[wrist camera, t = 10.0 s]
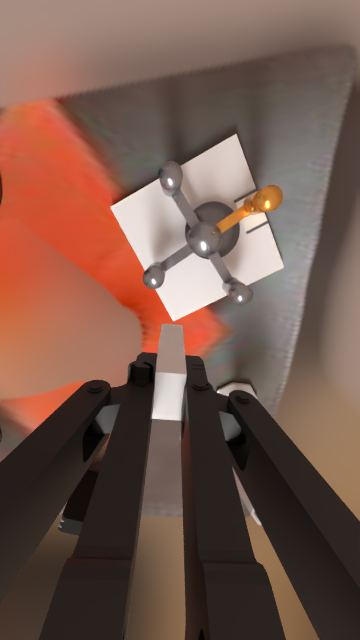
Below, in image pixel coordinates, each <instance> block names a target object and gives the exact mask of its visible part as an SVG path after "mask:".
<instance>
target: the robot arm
mask: <svg viewBox="0 0 360 640" xmlns="http://www.w3.org/2000/svg"><path fill="white" fill-rule="evenodd" d="M1 195H2V190H1V181H0V203H1ZM181 415H182V421H181ZM152 419H166V420H180V421H181V428H180V436H179V440H181V463H182V499H183V535H184V571H185V607H186V626H185V640H286V638H285V635H284V631H283V627H282V624H281V620H280V617H279V613H278V609H277V605H276V602H275V598H274V594H273V591H272V587H271V584H270V581H269V578H268V575H267V572H266V570H265V569H264V567H263V565H262V564H260V563H258V562H257V561H256V559H255V557H254V554H253V550H252V546H251V542H250V537H249V534H248V529H247V525H246V521H245V517H244V513H243V509H242V505H241V501H240V497H239V493H238V488H237V484H236V480H235V476H234V472H233V469H234V471H235V473H236V475H237V477H238V479H239V481H240V483H241V485H242V487H243V489H244V491H245V493H246V495H247V497H248V499H249V501H250V502H251V504H252V506H253V508H254V510H255V512H256V514H257V516H258V518H259V520H260V522H261V524H262V526H263V528H264V530H265V532H266V534H267V536H268V538H269V540H270V542H271V544H272V546H273V548H274V550H275V552H276V554H277V556H278V558H279V560H280V562H281V564H282V566H283V567H284V570H285V572H286V574H287V576H288V578H289V580H290V582H291V584H292V586H293V588H294V590H295V592H296V594H297V596H298V598H299V600H300V602H301V603H302V606H303V608H304V610H305V611H306V613H307V615H308V617H309V619H310V621H311V623H312V625H313V627H314V629H315V631H316V633H317V635H318V637H319V639H320V640H360V521H359V520H358V519H357V518H356V517H355V515H354V514H353V513H352V512H351V511H350V509H349V508H348V507H347V506H346V505H345V503H344V502H343V501H342V500H341V499H340V498H339V496H338V495H337V494H336V493H335V492H334V490H333V489H332V488H331V487H330V486H329V484H328V483H327V482H326V481H325V480H324V478H323V477H322V476H321V475H320V474H319V473H318V471H317V470H316V469H315V468H314V467H313V465H312V464H311V463H310V462H309V461H308V460H307V458H306V457H305V456H304V455H303V454H302V452H301V451H300V450H299V449H298V448H297V446H296V445H295V444H294V443H293V442H292V440H291V439H290V438H289V437H288V436H287V435H286V433H285V432H284V431H283V430H282V429H281V427H280V426H279V425H278V424H277V423H276V421H275V420H274V419H273V418H272V417H271V416H270V414H269V413H268V412H267V411H266V410H265V408H264V407H263V406H262V405H261V404H260V402H259V401H258V400H257V399H256V398H255V397H254V396H253V395H252V394H250V393H248V392H246V391H243V390H233V391H231V392H230V393H229V396H226V395H223V394H220V393H217V392H215V391H214V390H213V387H212V385H211V384H210V383H209V382H208V380H207V376H206V371H205V367H204V362H203V360H202V359H201V358H200V357H199V356H188V355H185V348H184V337H183V325H174V324H163V323H162V326H161V334H160V341H159V348H158V354H157V353H145V352H142V353H141V354H139V355H138V356H137V360H136V361H134V362H132V363H130V364H129V366H128V381H127V384H125V385H122V386H119V387H113V388H111V387H110V384H109V383H108V382H106V381H103V380H92V381H89V382H86V383H85V384H83V385H82V386H81V387H80V388H79V389H78V390H77V391H76V392H74V393H73V394H72V395H71V396H70V397H69V398H68V399H67V400H66V401H65V402H64V403H63V404H62V405H61V406H60V407H59V408H58V409H56V410H55V411H54V412H53V413H52V414H51V415H50V416H49V417H48V418H47V419H46V420H45V421H44V422H43V423H42V424H41V425H40V426H38V427H37V428H36V429H35V430H34V431H33V432H32V433H31V434H30V435H29V436H28V437H27V438H26V439H25V440H24V441H23V442H22V443H20V444H19V445H18V446H17V447H16V448H15V449H14V450H13V451H12V452H11V453H10V454H9V455H8V456H7V457H6V458H5V459H4V460H2V461H1V462H0V604H1V603H2V601H3V600H4V598H5V597H6V595H7V594H8V592H9V590H10V589H11V587H12V586H13V584H14V583H15V581H16V580H17V578H18V577H19V575H20V573H21V572H22V570H23V569H24V567H25V566H26V564H27V562H28V561H29V560H30V558H31V556H32V555H33V553H34V552H35V550H36V549H37V547H38V546H39V544H40V542H41V541H42V539H43V538H44V536H45V535H46V533H47V532H48V530H49V529H50V527H51V525H52V524H53V522H54V520H55V519H56V518H57V516H58V515H59V513H60V512H61V510H62V508H63V507H64V505H65V504H66V502H67V501H68V499H69V498H70V496H71V495H72V493H73V491H74V490H75V488H76V487H77V485H78V484H79V482H80V481H81V479H82V477H83V476H84V474H85V473H86V471H87V470H88V468H89V467H90V465H91V464H92V462H93V460H94V459H95V457H96V456H97V454H98V453H99V451H100V450H101V448H102V447H103V445H104V443H105V442H106V440H107V439H108V437H109V435H110V433H111V435H110V439H109V442H108V445H107V448H106V451H105V455H104V458H103V461H102V464H101V467H100V471H99V474H98V477H97V480H96V483H95V487H94V490H93V493H92V496H91V500H90V503H89V506H88V509H87V512H86V516H85V519H84V522H83V525H82V528H81V532H80V535H79V538H78V541H77V544H76V547H75V550H74V552H73V554H72V556H70V557H69V558H68V559H67V561H66V563H65V565H64V567H63V569H62V572H61V575H60V577H59V580H58V583H57V586H56V590H55V592H54V595H53V598H52V601H51V604H50V607H49V610H48V613H47V617H46V619H45V622H44V626H43V628H42V632H41V635H40V638H39V640H127V633H128V623H129V613H130V605H131V596H132V588H133V578H134V571H135V562H136V553H137V545H138V536H139V528H140V519H141V510H142V502H143V493H144V485H145V476H146V467H147V459H148V450H149V441H150V433H151V423H152ZM232 467H233V468H232Z"/></svg>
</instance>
